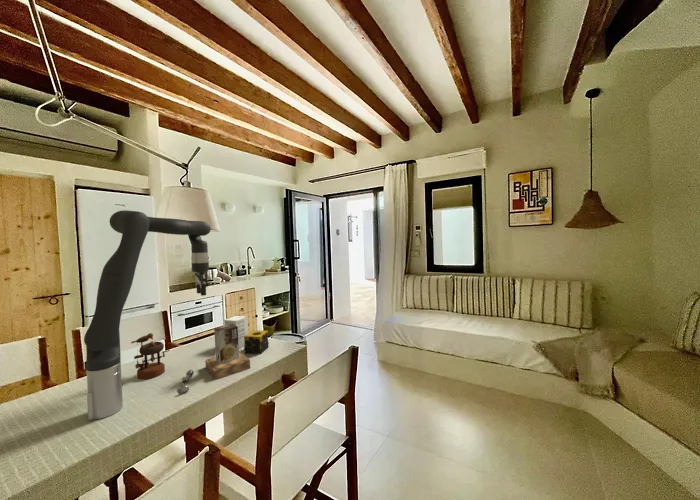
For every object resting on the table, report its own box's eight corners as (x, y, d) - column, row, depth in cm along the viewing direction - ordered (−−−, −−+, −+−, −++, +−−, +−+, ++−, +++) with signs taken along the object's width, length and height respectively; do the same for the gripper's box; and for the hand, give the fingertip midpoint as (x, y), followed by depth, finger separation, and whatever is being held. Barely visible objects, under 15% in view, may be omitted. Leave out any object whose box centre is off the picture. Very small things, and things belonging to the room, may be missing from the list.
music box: (138, 384, 117) (134, 338, 118) (129, 379, 123) (126, 336, 124) (176, 369, 130) (173, 328, 130) (166, 366, 136) (163, 327, 136)
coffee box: (233, 354, 136) (232, 323, 136) (239, 358, 132) (238, 325, 131) (215, 360, 130) (213, 327, 129) (220, 364, 125) (218, 330, 125)
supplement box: (248, 344, 162) (247, 316, 161) (237, 349, 153) (236, 320, 153) (236, 342, 165) (235, 315, 165) (224, 347, 157) (223, 319, 156)
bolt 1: (188, 381, 118) (188, 375, 118) (181, 382, 118) (181, 376, 118) (193, 375, 124) (193, 369, 124) (187, 376, 124) (187, 370, 124)
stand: (214, 379, 120) (214, 370, 120) (205, 367, 132) (205, 359, 132) (250, 368, 130) (249, 359, 130) (238, 357, 142) (238, 349, 142)
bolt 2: (189, 391, 110) (188, 385, 110) (181, 394, 108) (180, 387, 108) (186, 386, 115) (186, 379, 114) (178, 388, 113) (178, 382, 113)
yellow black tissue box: (252, 346, 158) (252, 330, 157) (269, 347, 156) (268, 330, 156) (243, 353, 147) (243, 336, 147) (261, 354, 146) (260, 336, 146)
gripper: (212, 261, 130) (213, 295, 130) (204, 260, 140) (206, 291, 141) (194, 263, 125) (196, 297, 125) (188, 261, 135) (189, 293, 136)
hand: (201, 294), depth 133 cm, fingers open, 8 cm apart
